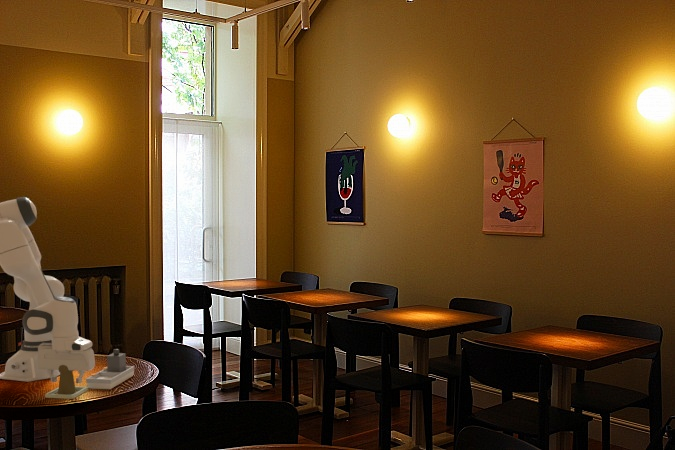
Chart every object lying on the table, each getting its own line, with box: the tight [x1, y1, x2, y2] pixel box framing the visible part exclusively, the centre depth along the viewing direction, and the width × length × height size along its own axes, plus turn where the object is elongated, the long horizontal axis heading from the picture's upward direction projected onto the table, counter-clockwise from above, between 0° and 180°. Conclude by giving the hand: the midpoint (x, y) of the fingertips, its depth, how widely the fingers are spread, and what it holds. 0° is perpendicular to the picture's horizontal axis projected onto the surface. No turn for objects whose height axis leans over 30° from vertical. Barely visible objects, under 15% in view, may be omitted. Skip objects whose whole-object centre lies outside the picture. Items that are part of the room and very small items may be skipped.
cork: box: [57, 365, 77, 395], centre depth 252 cm, size 6×6×11 cm
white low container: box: [85, 365, 135, 390], centre depth 268 cm, size 10×19×4 cm, turn 171°
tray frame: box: [44, 386, 89, 400], centre depth 252 cm, size 10×10×1 cm
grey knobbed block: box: [106, 348, 127, 372], centre depth 272 cm, size 5×5×9 cm
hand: (66, 382), depth 252 cm, fingers open, 8 cm apart
